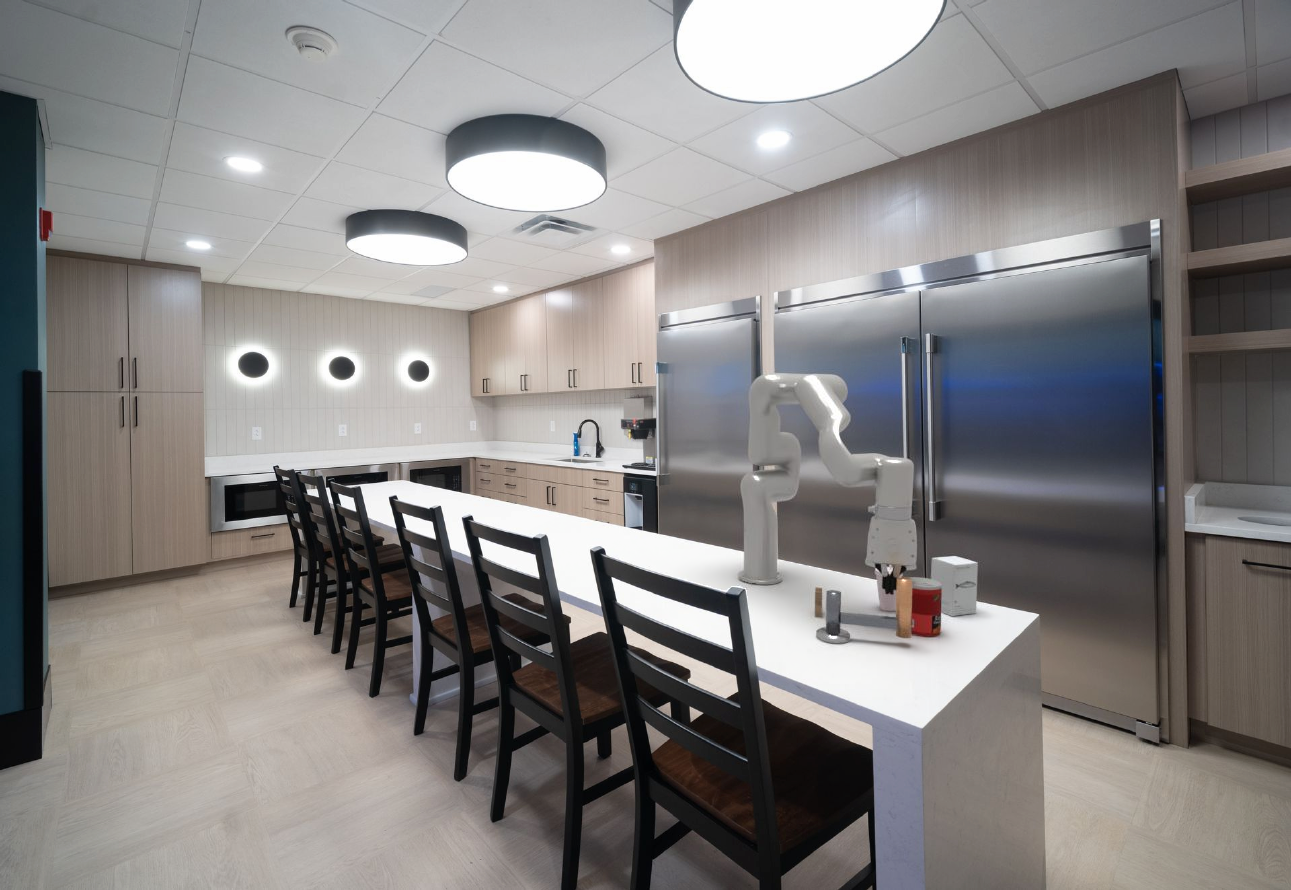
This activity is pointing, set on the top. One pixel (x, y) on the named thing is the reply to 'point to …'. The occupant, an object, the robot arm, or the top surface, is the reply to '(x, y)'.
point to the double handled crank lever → (899, 622)
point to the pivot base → (833, 636)
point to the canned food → (926, 606)
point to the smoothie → (885, 600)
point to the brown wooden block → (818, 602)
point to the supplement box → (956, 584)
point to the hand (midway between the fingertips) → (888, 592)
